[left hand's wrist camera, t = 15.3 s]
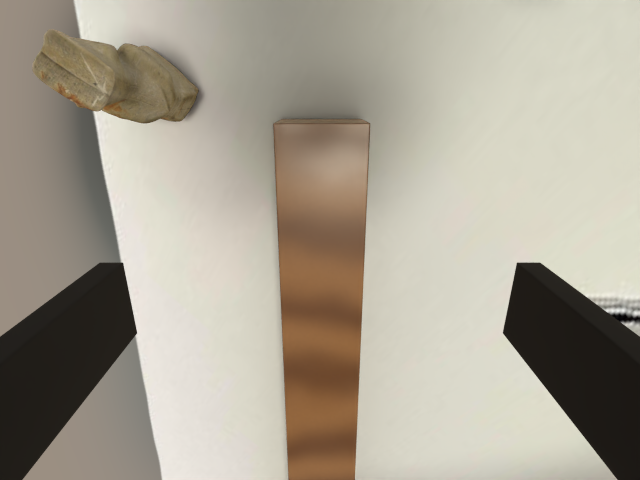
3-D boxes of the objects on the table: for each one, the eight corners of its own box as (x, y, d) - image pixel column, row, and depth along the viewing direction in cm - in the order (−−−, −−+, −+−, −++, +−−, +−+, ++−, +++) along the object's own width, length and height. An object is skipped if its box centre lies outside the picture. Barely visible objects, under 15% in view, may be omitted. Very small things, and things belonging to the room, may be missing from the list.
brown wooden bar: (281, 119, 40) (273, 123, 33) (361, 119, 40) (370, 122, 33) (297, 566, 66) (294, 618, 59) (345, 566, 66) (348, 618, 59)
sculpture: (152, 35, 37) (49, -4, 23) (213, 87, 38) (152, 80, 24) (122, 85, 38) (9, 76, 24) (182, 132, 40) (108, 150, 26)
